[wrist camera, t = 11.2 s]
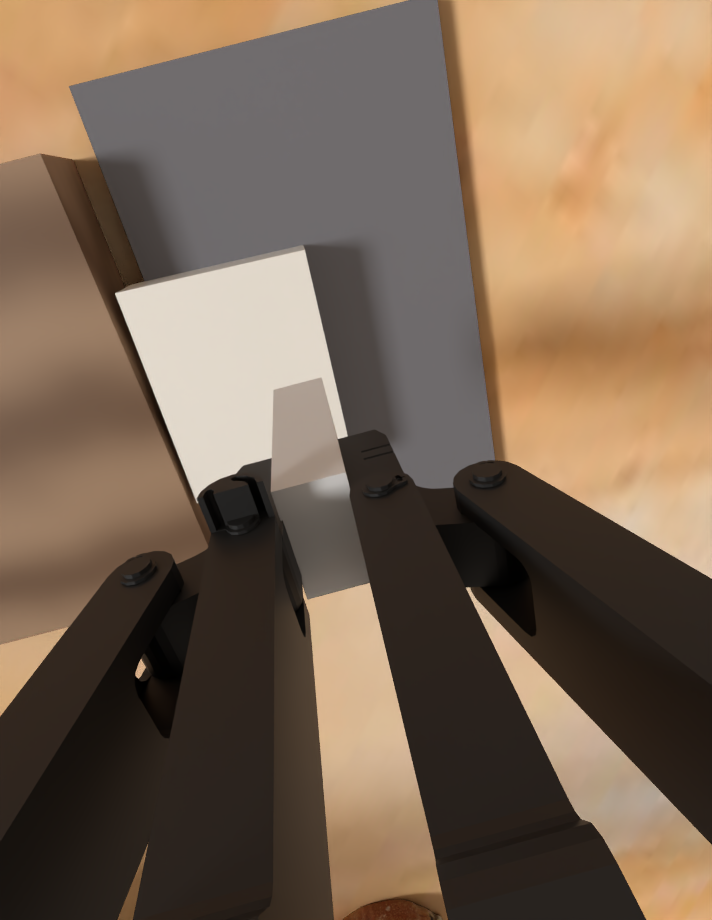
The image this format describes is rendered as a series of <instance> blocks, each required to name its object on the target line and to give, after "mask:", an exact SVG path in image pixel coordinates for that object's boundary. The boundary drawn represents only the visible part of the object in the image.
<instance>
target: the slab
mask: <svg viewBox="0 0 712 920" xmlns="http://www.w3.org/2000/svg"><path fill="white" fill-rule="evenodd" d="M115 295H116V298H117V300H118V303H119V305H120V308H121V310H122V313H123V315H124V318H125V321H126V323H127V326H128V328H129V331H130V333H131V336H132V338H133V341H134V343H135V346H136V349H137V351H138V354H139V356H140V359H141V361H142V364H143V366H144V369H145V372H146V374H147V377H148V379H149V382H150V384H151V387H152V389H153V392H154V395H155V397H156V400H157V402H158V405H159V407H160V410H161V412H162V415H163V418H164V420H165V423H166V425H167V428H168V430H169V433H170V435H171V438H172V441H173V443H174V446H175V448H176V451H177V453H178V456H179V458H180V461H181V464H182V466H183V469H184V471H185V474H186V476H187V479H188V481H189V484H190V487H191V489H192V492H193V494H194V497H195V499H196V498H197V497H198V495H199V494H200V492H201V491H202V490H203V489H205V488H206V487H207V486H208V485H210V484H211V483H213V482H215V481H217V480H219V479H221V478H224V477H227V476H230V475H233V474H236V473H237V472H238V471H239V470H240V468H241V467H242V466H243V465H247V464H251V463H255V462H259V461H262V460H266V459H270V458H272V427H273V390H275V389H279V388H282V387H286V386H290V385H294V384H298V383H301V382H305V381H309V380H313V379H317V378H321V377H322V381H323V385H324V388H325V392H326V396H327V400H328V403H329V407H330V411H331V415H332V418H333V422H334V426H335V430H336V433H337V437H338V439H340V438H344V437H348V435H347V431H346V426H345V422H344V418H343V413H342V409H341V405H340V400H339V396H338V392H337V387H336V383H335V379H334V374H333V370H332V366H331V361H330V357H329V352H328V348H327V344H326V339H325V335H324V331H323V326H322V322H321V318H320V313H319V309H318V305H317V300H316V296H315V292H314V287H313V283H312V279H311V274H310V270H309V266H308V261H307V257H306V253H305V249H304V246H303V245H301V246H297V247H292V248H288V249H284V250H279V251H275V252H271V253H266V254H262V255H258V256H253V257H249V258H245V259H240V260H236V261H231V262H227V263H223V264H218V265H214V266H210V267H205V268H201V269H197V270H192V271H188V272H184V273H179V274H175V275H170V276H166V277H162V278H157V279H153V280H149V281H144V282H140V283H136V284H131V285H129V286H127V287H125V288H124V289H122V290H120V291H118V292H116V293H115ZM196 502H197V503H198V501H197V499H196Z"/></svg>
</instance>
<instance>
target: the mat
mask: <svg viewBox="0 0 712 920" xmlns="http://www.w3.org/2000/svg"><path fill="white" fill-rule="evenodd" d="M69 88H70V90H71V93H72V96H73V98H74V101H75V103H76V106H77V108H78V111H79V114H80V116H81V119H82V121H83V124H84V126H85V129H86V132H87V134H88V137H89V139H90V142H91V145H92V147H93V150H94V152H95V155H96V157H97V160H98V163H99V165H100V168H101V170H102V173H103V175H104V178H105V181H106V183H107V186H108V188H109V191H110V194H111V196H112V199H113V201H114V204H115V206H116V209H117V212H118V214H119V217H120V219H121V222H122V224H123V227H124V230H125V232H126V235H127V237H128V240H129V243H130V245H131V248H132V250H133V253H134V255H135V258H136V261H137V263H138V266H139V268H140V271H141V273H142V276H143V279H144V281H149V280H153V279H157V278H162V277H166V276H170V275H175V274H179V273H184V272H188V271H192V270H197V269H201V268H205V267H210V266H214V265H218V264H223V263H227V262H231V261H236V260H240V259H245V258H249V257H253V256H258V255H262V254H266V253H271V252H275V251H279V250H284V249H288V248H292V247H297V246H301V245H303V246H304V249H305V253H306V257H307V261H308V266H309V270H310V274H311V279H312V283H313V287H314V292H315V296H316V300H317V305H318V309H319V313H320V318H321V322H322V326H323V331H324V335H325V339H326V344H327V348H328V352H329V357H330V361H331V366H332V370H333V374H334V379H335V383H336V387H337V392H338V396H339V400H340V405H341V409H342V413H343V418H344V422H345V426H346V431H347V435H348V436H351V435H355V434H359V433H363V432H367V431H370V430H374V429H375V430H377V431H379V432H381V433H383V434H385V435H386V436H387V438H388V440H389V442H390V445H391V447H392V449H393V451H394V453H395V455H396V457H397V459H398V461H399V463H400V466H401V468H402V470H403V472H404V473H405V474H408V475H409V476H410V477H411V478H412V479H413V481H414V483H415V485H416V486H419V487H422V488H430V489H438V488H453V479H454V476H455V475H456V474H457V473H458V472H459V471H460V470H461V469H463V468H465V467H467V466H469V465H472V464H475V463H478V462H480V461H487V460H495V456H494V448H493V440H492V432H491V424H490V416H489V408H488V400H487V392H486V384H485V376H484V368H483V360H482V352H481V344H480V336H479V328H478V320H477V312H476V304H475V296H474V288H473V280H472V272H471V264H470V256H469V248H468V240H467V232H466V224H465V216H464V208H463V200H462V192H461V184H460V176H459V168H458V160H457V152H456V144H455V136H454V128H453V120H452V112H451V104H450V96H449V88H448V80H447V72H446V64H445V56H444V48H443V40H442V32H441V24H440V16H439V8H438V0H408V1H404V2H400V3H396V4H392V5H388V6H384V7H380V8H376V9H373V10H369V11H365V12H361V13H357V14H353V15H349V16H345V17H341V18H337V19H333V20H329V21H325V22H321V23H317V24H313V25H309V26H305V27H301V28H297V29H293V30H290V31H286V32H282V33H278V34H274V35H270V36H266V37H262V38H258V39H254V40H250V41H246V42H242V43H238V44H234V45H230V46H226V47H222V48H218V49H214V50H210V51H207V52H203V53H199V54H195V55H191V56H187V57H183V58H179V59H175V60H171V61H167V62H163V63H159V64H155V65H151V66H147V67H143V68H139V69H135V70H131V71H127V72H124V73H120V74H116V75H112V76H108V77H104V78H100V79H96V80H92V81H88V82H84V83H80V84H76V85H72V86H69Z"/></svg>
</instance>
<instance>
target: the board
mask: <svg viewBox="0 0 712 920" xmlns="http://www.w3.org/2000/svg"><path fill="white" fill-rule="evenodd" d="M124 288H125V287H124V284H123V282H122V279H121V277H120V274H119V272H118V269H117V267H116V264H115V262H114V260H113V257H112V255H111V252H110V250H109V247H108V245H107V242H106V240H105V237H104V235H103V232H102V230H101V228H100V225H99V223H98V220H97V218H96V215H95V213H94V210H93V208H92V205H91V203H90V200H89V198H88V195H87V193H86V191H85V188H84V186H83V183H82V181H81V178H80V176H79V173H78V171H77V168H76V166H75V163H74V161H73V160H72V159H66V158H61V157H56V156H50V155H45V154H37V155H33V156H29V157H25V158H21V159H17V160H13V161H9V162H5V163H2V164H0V644H4V643H8V642H12V641H16V640H20V639H24V638H27V637H31V636H35V635H39V634H43V633H47V632H51V631H54V630H58V629H62V628H66V627H70V625H71V624H72V623H73V621H74V620H75V619H76V618H77V616H78V615H79V614H80V612H81V611H82V610H83V608H84V607H85V606H86V605H87V603H88V602H89V601H90V599H91V598H92V597H93V595H94V594H95V593H96V591H97V590H98V589H99V588H100V586H101V585H102V584H103V582H104V581H105V580H106V578H107V577H108V576H109V575H110V574H111V573H112V572H113V571H114V570H115V569H116V568H117V567H119V566H120V565H122V564H123V563H125V562H126V561H127V560H128V559H130V558H132V557H136V555H139V554H142V553H148V552H152V551H166V552H168V553H170V554H172V556H173V558H174V561H175V563H176V564H178V563H180V562H183V561H185V560H187V559H189V558H191V557H194V556H196V555H197V554H199V553H201V552H203V551H205V550H206V549H208V545H209V540H210V535H211V532H210V530H209V527H208V525H207V523H206V520H205V518H204V515H203V513H202V511H201V508H200V506H199V503H197V502H196V499H195V497H194V494H193V492H192V489H191V487H190V484H189V481H188V479H187V476H186V474H185V471H184V469H183V466H182V464H181V461H180V458H179V456H178V453H177V451H176V448H175V446H174V443H173V441H172V438H171V435H170V433H169V430H168V428H167V425H166V423H165V420H164V418H163V415H162V412H161V410H160V407H159V405H158V402H157V400H156V397H155V395H154V392H153V389H152V387H151V384H150V382H149V379H148V377H147V374H146V372H145V369H144V366H143V364H142V361H141V359H140V356H139V354H138V351H137V349H136V346H135V343H134V341H133V338H132V336H131V333H130V331H129V328H128V326H127V323H126V321H125V318H124V315H123V313H122V310H121V308H120V305H119V303H118V300H117V298H116V295H115V293H116V292H118V291H120V290H122V289H124Z"/></svg>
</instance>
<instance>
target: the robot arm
mask: <svg viewBox="0 0 712 920" xmlns="http://www.w3.org/2000/svg"><path fill="white" fill-rule="evenodd" d="M196 499H197V501H198V503H199V506H200V508H201V511H202V513H203V515H204V518H205V520H206V523H207V525H208V527H209V530H210V532H211V535H210V540H209V545H208V549H206V550H205V551H203V552H201V553H199V554H197V555H196V556H194V557H191V558H189V559H187V560H185V561H183V562H180V563H178V564H176V563H175V561H174V558H173V556H172V554H170V553H168V552H166V551H152V552H148V553H142V554H139V555H136V557H132V558H130V559H128V560H127V561H126V562H125V563H123V564H122V565H120V566H119V567H117V568H116V569H115V570H114V571H113V572H112V573H111V574H110V575H109V576H108V577H107V578H106V580H105V581H104V582H103V584H102V585H101V586H100V588H99V589H98V590H97V591H96V593H95V594H94V595H93V597H92V598H91V599H90V601H89V602H88V603H87V605H86V606H85V607H84V608H83V610H82V611H81V612H80V614H79V615H78V616H77V618H76V619H75V620H74V621H73V623H72V624H71V625H70V627H69V628H68V629H67V631H66V632H65V633H64V634H63V636H62V637H61V638H60V640H59V641H58V642H57V644H56V645H55V646H54V647H53V649H52V650H51V651H50V653H49V654H48V655H47V657H46V658H45V659H44V660H43V662H42V663H41V664H40V666H39V667H38V668H37V670H36V671H35V672H34V674H33V675H32V676H31V677H30V679H29V680H28V681H27V683H26V684H25V685H24V687H23V688H22V689H21V690H20V692H19V693H18V694H17V696H16V697H15V698H14V700H13V701H12V702H11V703H10V705H9V706H8V707H7V709H6V710H5V711H4V713H3V714H2V715H1V716H0V920H117V919H118V916H119V914H120V911H121V909H122V906H123V904H124V901H125V899H126V897H127V894H128V892H129V889H130V887H131V884H132V882H133V879H134V877H135V874H136V872H137V869H138V867H139V864H140V862H141V859H142V857H143V854H144V852H145V849H146V847H147V845H148V848H147V853H146V858H145V863H144V868H143V873H142V878H141V883H140V888H139V893H138V898H137V902H136V907H135V912H134V917H133V920H334V917H333V904H332V892H331V879H330V867H329V854H328V842H327V829H326V817H325V804H324V792H323V779H322V767H321V754H320V742H319V729H318V717H317V704H316V692H315V679H314V667H313V654H312V642H311V629H310V617H309V612H308V610H307V607H306V604H305V601H304V598H303V589H302V585H303V588H304V590H305V593H306V596H307V599H311V598H315V597H318V596H322V595H326V594H329V593H333V592H337V591H341V590H344V589H348V588H352V587H355V586H359V585H363V584H367V583H370V585H371V589H372V594H373V598H374V602H375V606H376V610H377V615H378V619H379V623H380V627H381V631H382V635H383V640H384V644H385V648H386V652H387V656H388V661H389V665H390V669H391V673H392V677H393V682H394V686H395V690H396V694H397V698H398V703H399V707H400V711H401V715H402V719H403V723H404V728H405V732H406V736H407V740H408V744H409V749H410V753H411V757H412V761H413V765H414V770H415V774H416V778H417V782H418V786H419V791H420V795H421V799H422V803H423V807H424V811H425V816H426V820H427V824H428V828H429V832H430V837H431V841H432V845H433V849H434V854H435V859H436V867H437V872H438V877H439V882H440V886H441V890H442V895H443V899H444V903H445V908H446V912H447V916H448V920H646V918H645V916H644V914H643V912H642V911H641V909H640V907H639V905H638V903H637V901H636V899H635V897H634V895H633V893H632V891H631V889H630V887H629V885H628V883H627V881H626V879H625V877H624V875H623V874H622V872H621V870H620V868H619V866H618V864H617V862H616V860H615V858H614V857H613V855H612V853H611V851H610V850H609V848H608V846H607V844H606V843H605V841H604V839H603V837H602V836H601V835H600V833H599V832H598V831H597V829H596V828H595V827H594V826H593V824H592V823H591V822H588V821H585V820H582V819H580V817H579V816H578V815H577V813H576V812H575V810H574V809H573V807H572V805H571V803H570V801H569V799H568V797H567V795H566V793H565V791H564V789H563V787H562V785H561V783H560V781H559V779H558V777H557V775H556V773H555V771H554V769H553V767H552V764H551V762H550V760H549V758H548V756H547V754H546V752H545V750H544V748H543V746H542V744H541V742H540V740H539V738H538V736H537V734H536V732H535V729H534V727H533V725H532V723H531V721H530V719H529V717H528V715H527V713H526V711H525V709H524V707H523V705H522V703H521V701H520V699H519V697H518V695H517V692H516V690H515V688H514V686H513V684H512V682H511V680H510V678H509V676H508V674H507V672H506V670H505V668H504V666H503V664H502V662H501V660H500V657H499V655H498V653H497V651H496V649H495V647H494V645H493V643H492V641H491V639H490V637H489V635H488V633H487V631H486V629H485V627H484V625H483V623H482V620H481V618H480V616H479V614H478V612H477V610H476V608H475V606H474V604H473V602H472V600H471V598H470V596H469V594H468V592H467V590H466V588H465V587H471V591H472V593H473V595H474V596H475V598H476V599H477V600H478V601H479V602H480V603H481V604H482V605H483V606H484V607H485V608H486V609H487V611H488V612H489V613H490V614H491V615H492V616H493V617H494V618H495V619H496V620H497V621H498V622H499V623H500V624H501V625H502V626H503V627H504V628H505V629H506V630H507V631H508V632H509V633H510V635H511V636H512V637H513V638H514V639H515V640H516V641H517V642H518V643H519V644H520V645H521V646H522V647H523V648H524V649H525V650H526V651H527V652H528V653H529V654H530V655H531V656H532V657H533V659H534V660H535V661H536V662H537V663H538V664H539V665H540V666H541V667H542V668H543V669H544V670H545V671H546V672H547V673H548V674H549V675H550V676H551V677H552V678H553V679H554V680H555V681H556V683H557V684H558V685H559V686H560V687H561V688H562V689H563V690H564V691H565V692H566V693H567V694H568V695H569V696H570V697H571V698H572V699H573V700H574V701H575V702H576V703H577V704H578V705H579V707H580V708H581V709H582V710H583V711H584V712H585V713H586V714H587V715H588V716H589V717H590V718H591V719H592V720H593V721H594V722H595V723H596V724H597V725H598V726H599V727H600V728H601V729H602V731H603V732H604V733H605V734H606V735H607V736H608V737H609V738H610V739H611V740H612V741H613V742H614V743H615V744H616V745H617V746H618V747H619V748H620V749H621V750H622V751H623V752H624V753H625V755H626V756H627V757H628V758H629V759H630V760H631V761H632V762H633V763H634V764H635V765H636V766H637V767H638V768H639V769H640V770H641V771H642V772H643V773H644V774H645V775H646V776H647V778H648V779H649V780H650V781H651V782H652V783H653V784H654V785H655V786H656V787H657V788H658V789H659V790H660V791H661V792H662V793H663V794H664V795H665V796H666V797H667V798H668V799H669V800H670V802H671V803H672V804H673V805H674V806H675V807H676V808H677V809H678V810H679V811H680V812H681V813H682V814H683V815H684V816H685V817H686V818H687V819H688V820H689V821H690V822H691V823H692V824H693V826H694V827H695V828H696V829H697V830H698V831H699V832H700V833H701V834H702V835H703V836H704V837H705V838H706V839H707V840H708V841H709V842H710V843H711V844H712V579H711V578H709V577H708V576H706V575H704V574H702V573H701V572H699V571H697V570H696V569H694V568H692V567H690V566H689V565H687V564H685V563H684V562H682V561H680V560H678V559H677V558H675V557H673V556H672V555H670V554H668V553H666V552H665V551H663V550H661V549H660V548H658V547H656V546H654V545H653V544H651V543H649V542H648V541H646V540H644V539H642V538H641V537H639V536H637V535H636V534H634V533H632V532H630V531H629V530H627V529H625V528H624V527H622V526H620V525H618V524H617V523H615V522H613V521H612V520H610V519H608V518H606V517H605V516H603V515H601V514H600V513H598V512H596V511H594V510H593V509H591V508H589V507H587V506H586V505H584V504H582V503H581V502H579V501H577V500H575V499H574V498H572V497H570V496H569V495H567V494H565V493H563V492H562V491H560V490H558V489H557V488H555V487H553V486H551V485H550V484H548V483H546V482H545V481H543V480H541V479H539V478H538V477H536V476H534V475H533V474H531V473H529V472H527V471H526V470H524V469H522V468H521V467H519V466H517V465H514V464H512V463H509V462H504V461H495V460H487V461H480V462H478V463H475V464H472V465H469V466H467V467H465V468H463V469H461V470H460V471H459V472H458V473H457V474H456V475H455V476H454V479H453V488H438V489H430V488H422V487H419V486H416V485H415V483H414V481H413V479H412V478H411V477H410V476H409V475H408V474H405V473H404V472H403V470H402V468H401V466H400V463H399V461H398V459H397V457H396V455H395V453H394V451H393V449H392V447H391V445H390V442H389V440H388V438H387V436H386V435H385V434H383V433H381V432H379V431H377V430H375V429H374V430H370V431H367V432H363V433H359V434H355V435H351V436H348V437H344V438H340V439H338V437H337V433H336V430H335V426H334V422H333V418H332V415H331V411H330V407H329V403H328V400H327V396H326V392H325V388H324V385H323V381H322V377H321V378H317V379H313V380H309V381H305V382H301V383H298V384H294V385H290V386H286V387H282V388H279V389H275V390H273V427H272V458H270V459H266V460H262V461H259V462H255V463H251V464H247V465H243V466H242V467H241V468H240V470H239V471H238V472H237V473H236V474H233V475H230V476H227V477H224V478H221V479H219V480H217V481H215V482H213V483H211V484H210V485H208V486H207V487H206V488H205V489H203V490H202V491H201V492H200V494H199V495H198V497H197V498H196ZM140 659H142V661H143V663H144V664H145V666H146V668H145V670H144V672H143V674H142V676H141V677H140V678H139V679H138V678H137V677H136V676H135V672H136V669H137V666H138V664H139V661H140ZM148 842H149V843H148Z"/></svg>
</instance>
